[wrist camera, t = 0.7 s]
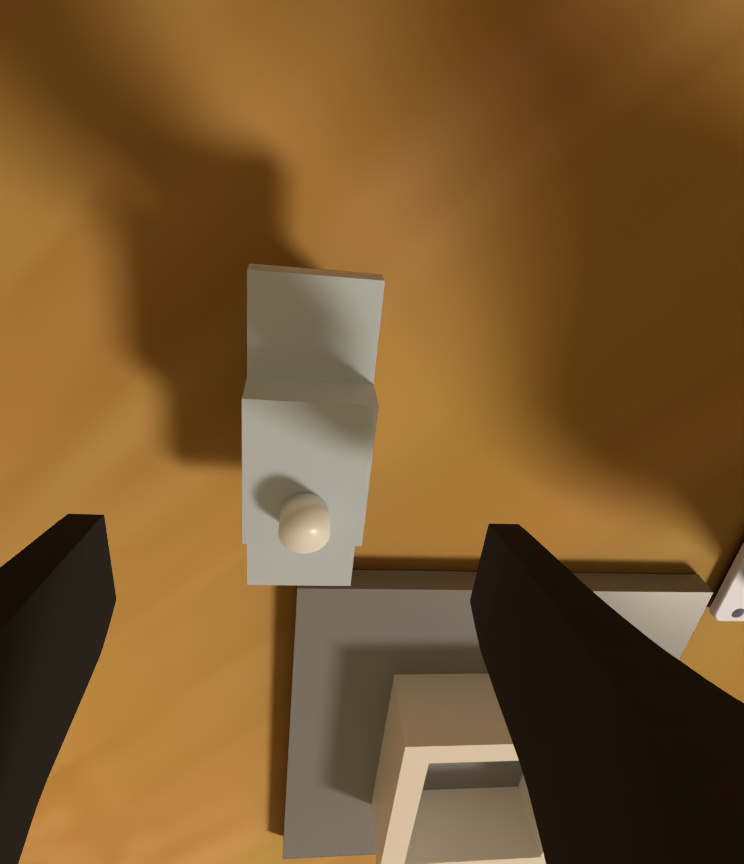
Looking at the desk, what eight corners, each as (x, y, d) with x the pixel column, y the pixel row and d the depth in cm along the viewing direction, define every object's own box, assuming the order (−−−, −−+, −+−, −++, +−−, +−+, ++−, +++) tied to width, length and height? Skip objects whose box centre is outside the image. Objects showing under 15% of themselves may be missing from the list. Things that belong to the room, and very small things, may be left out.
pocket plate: (698, 574, 23) (767, 656, 19) (577, 823, 31) (610, 911, 28) (298, 568, 21) (295, 659, 17) (283, 837, 29) (279, 934, 26)
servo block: (370, 248, 16) (397, 306, 11) (344, 512, 20) (355, 639, 15) (260, 239, 15) (236, 294, 10) (257, 510, 20) (239, 639, 15)
